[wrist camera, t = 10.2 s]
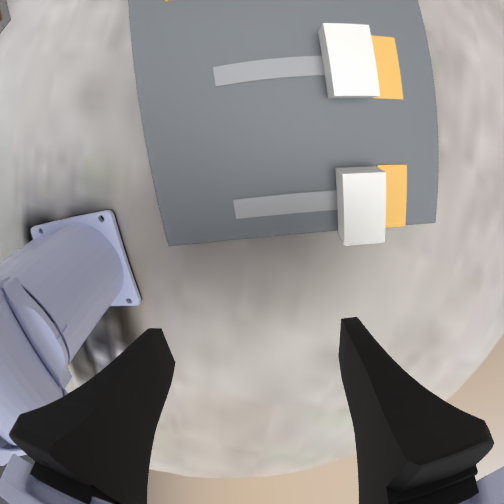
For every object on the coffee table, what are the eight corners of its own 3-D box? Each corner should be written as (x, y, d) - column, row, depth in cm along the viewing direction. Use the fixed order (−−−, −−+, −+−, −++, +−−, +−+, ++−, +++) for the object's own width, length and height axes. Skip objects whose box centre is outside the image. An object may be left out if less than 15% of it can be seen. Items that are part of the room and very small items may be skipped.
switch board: (173, 240, 20) (167, 247, 19) (133, -24, 11) (126, -30, 10) (428, 217, 18) (436, 224, 17) (394, -46, 9) (400, -53, 8)
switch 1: (327, 98, 14) (334, 96, 12) (317, 32, 12) (323, 23, 11) (369, 97, 14) (380, 96, 12) (359, 33, 12) (368, 24, 10)
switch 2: (338, 233, 17) (344, 245, 16) (335, 167, 16) (342, 174, 14) (375, 230, 17) (384, 242, 15) (375, 166, 15) (386, 172, 14)
